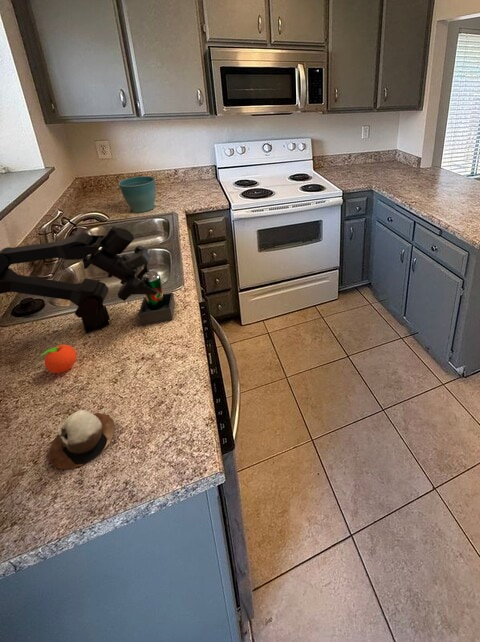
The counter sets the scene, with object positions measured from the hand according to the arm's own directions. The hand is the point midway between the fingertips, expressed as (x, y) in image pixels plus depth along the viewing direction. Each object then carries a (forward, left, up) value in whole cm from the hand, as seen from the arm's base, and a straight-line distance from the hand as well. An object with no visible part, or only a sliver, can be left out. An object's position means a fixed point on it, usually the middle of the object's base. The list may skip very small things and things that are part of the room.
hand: (157, 289), depth 114 cm
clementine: (-28, -7, -10) cm, 31 cm away
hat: (-26, -34, -10) cm, 44 cm away
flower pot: (+18, +105, -10) cm, 106 cm away
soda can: (-1, +1, -7) cm, 7 cm away
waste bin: (-1, +1, -9) cm, 10 cm away
